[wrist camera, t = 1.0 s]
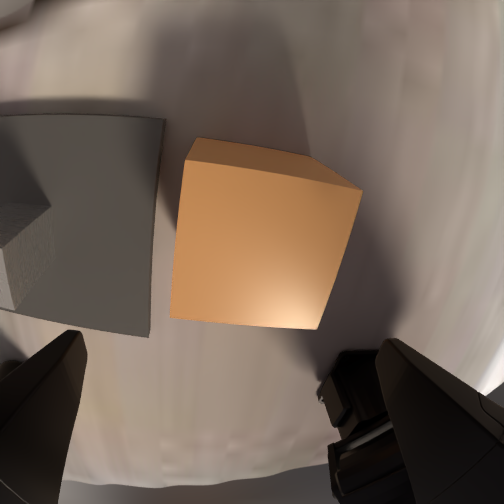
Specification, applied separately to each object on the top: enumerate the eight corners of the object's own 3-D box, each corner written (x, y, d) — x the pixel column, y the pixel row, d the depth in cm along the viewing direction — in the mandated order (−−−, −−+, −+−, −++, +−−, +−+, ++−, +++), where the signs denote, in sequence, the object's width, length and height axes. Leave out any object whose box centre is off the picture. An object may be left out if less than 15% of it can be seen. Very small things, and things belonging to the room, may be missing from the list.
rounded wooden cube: (310, 156, 17) (363, 190, 11) (286, 257, 20) (316, 329, 14) (197, 137, 16) (185, 159, 10) (182, 244, 19) (169, 317, 13)
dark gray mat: (166, 119, 16) (163, 120, 15) (150, 328, 22) (148, 337, 21) (-45, 120, 13) (-54, 122, 12) (-25, 294, 19) (-31, 300, 18)
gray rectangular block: (51, 206, 16) (2, 248, 11) (55, 258, 17) (14, 310, 12) (8, 202, 15) (-45, 240, 10) (14, 251, 17) (-31, 298, 12)
